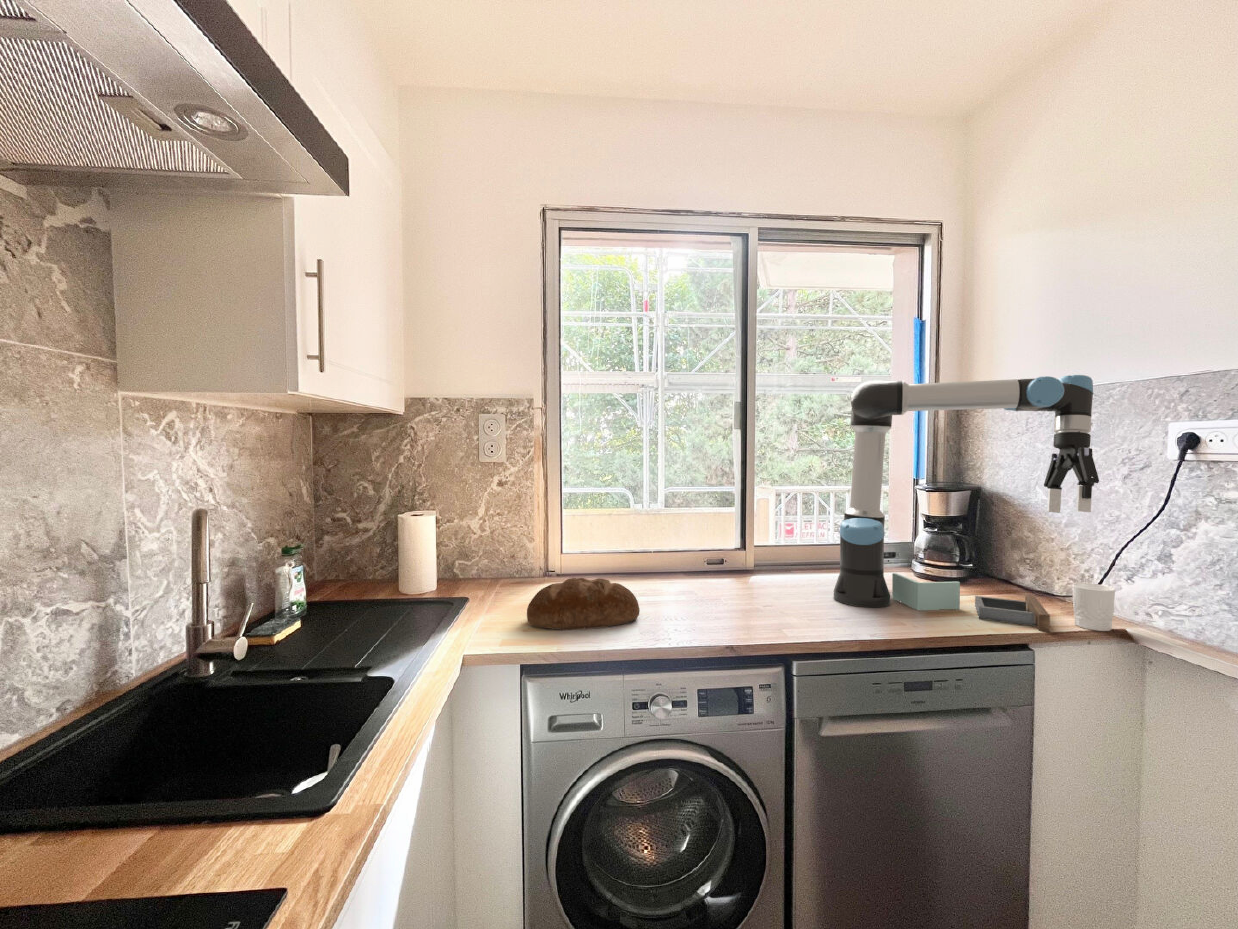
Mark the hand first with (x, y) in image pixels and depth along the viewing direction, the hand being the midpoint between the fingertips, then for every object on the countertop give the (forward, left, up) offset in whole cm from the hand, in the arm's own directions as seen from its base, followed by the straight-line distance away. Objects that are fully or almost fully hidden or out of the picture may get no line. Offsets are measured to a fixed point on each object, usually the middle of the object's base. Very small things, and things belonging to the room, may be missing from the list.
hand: (1067, 512), depth 140 cm
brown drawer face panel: (-8, -10, -27) cm, 30 cm away
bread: (-110, -67, -28) cm, 132 cm away
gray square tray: (-14, -10, -27) cm, 32 cm away
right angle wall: (-33, -7, -27) cm, 43 cm away
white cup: (+3, -10, -27) cm, 29 cm away
